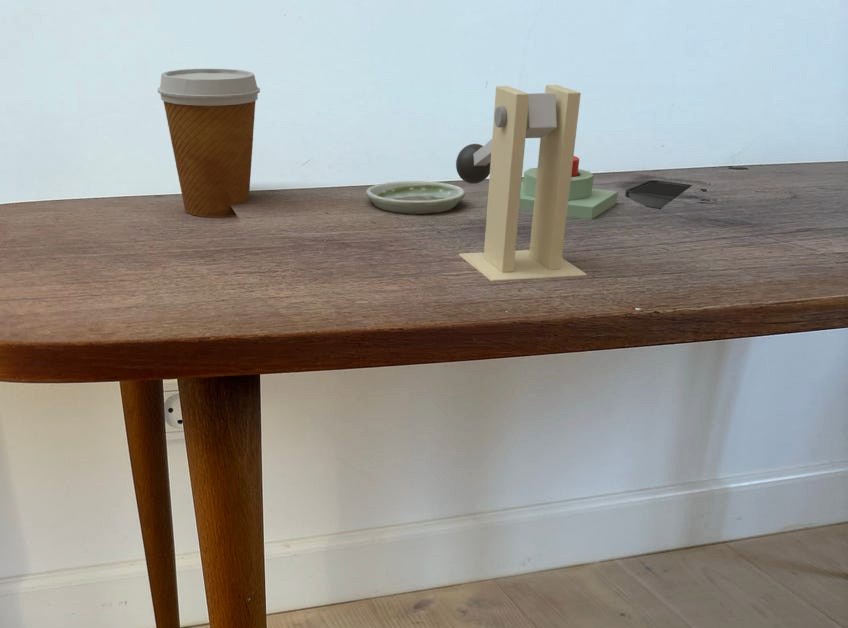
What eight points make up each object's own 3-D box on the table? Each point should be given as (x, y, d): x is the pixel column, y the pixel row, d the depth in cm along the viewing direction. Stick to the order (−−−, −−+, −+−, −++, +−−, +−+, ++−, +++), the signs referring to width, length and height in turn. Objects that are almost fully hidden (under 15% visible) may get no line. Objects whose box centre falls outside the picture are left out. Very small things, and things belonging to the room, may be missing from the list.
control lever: (452, 188, 94) (450, 149, 93) (486, 186, 95) (484, 148, 94) (523, 134, 78) (521, 87, 77) (563, 133, 78) (561, 86, 78)
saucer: (407, 200, 109) (408, 175, 108) (483, 215, 104) (485, 189, 103) (345, 216, 103) (345, 189, 102) (422, 232, 98) (423, 205, 97)
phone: (767, 211, 102) (622, 190, 109) (764, 224, 102) (620, 202, 109) (791, 197, 107) (651, 178, 114) (788, 209, 108) (650, 189, 115)
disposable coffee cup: (282, 206, 106) (278, 72, 100) (229, 225, 99) (221, 82, 92) (204, 195, 110) (195, 65, 103) (148, 213, 103) (134, 75, 96)
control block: (615, 214, 105) (621, 171, 103) (590, 231, 99) (596, 186, 97) (521, 203, 109) (525, 161, 107) (492, 218, 103) (495, 174, 101)
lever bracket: (458, 268, 88) (469, 83, 80) (547, 263, 90) (566, 81, 82) (490, 295, 82) (506, 97, 74) (585, 289, 83) (610, 95, 76)
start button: (582, 175, 103) (584, 156, 102) (570, 182, 100) (572, 162, 99) (547, 172, 104) (549, 152, 103) (534, 178, 102) (536, 158, 101)
